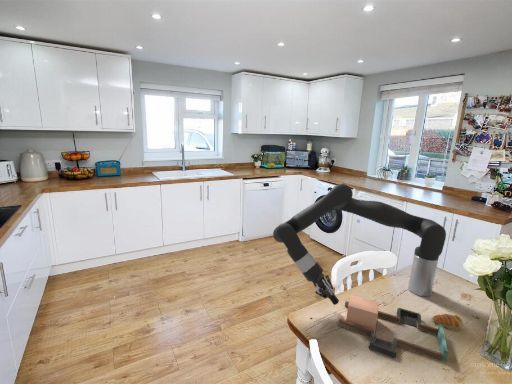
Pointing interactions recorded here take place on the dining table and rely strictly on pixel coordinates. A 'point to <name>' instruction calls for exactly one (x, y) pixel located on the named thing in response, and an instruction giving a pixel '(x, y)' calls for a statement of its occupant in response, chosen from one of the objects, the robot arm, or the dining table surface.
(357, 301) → the block
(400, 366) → the dining table surface
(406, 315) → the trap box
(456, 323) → the pastry
